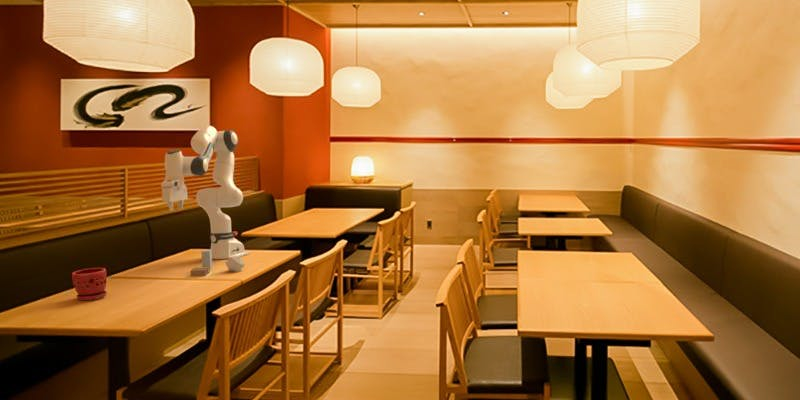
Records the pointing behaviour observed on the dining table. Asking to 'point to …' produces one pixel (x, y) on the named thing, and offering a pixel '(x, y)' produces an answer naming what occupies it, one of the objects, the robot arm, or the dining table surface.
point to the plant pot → (90, 283)
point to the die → (235, 263)
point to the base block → (200, 271)
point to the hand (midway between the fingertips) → (176, 210)
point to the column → (207, 258)
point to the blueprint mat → (200, 276)
